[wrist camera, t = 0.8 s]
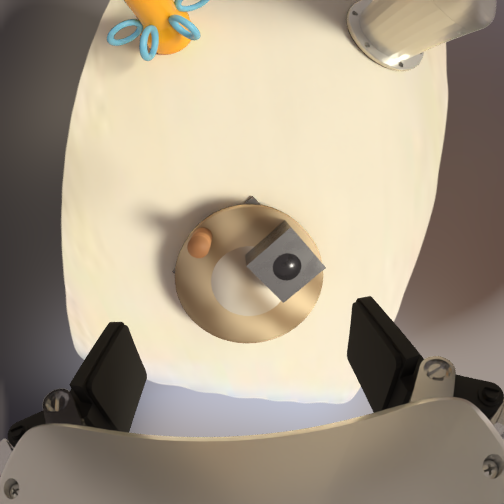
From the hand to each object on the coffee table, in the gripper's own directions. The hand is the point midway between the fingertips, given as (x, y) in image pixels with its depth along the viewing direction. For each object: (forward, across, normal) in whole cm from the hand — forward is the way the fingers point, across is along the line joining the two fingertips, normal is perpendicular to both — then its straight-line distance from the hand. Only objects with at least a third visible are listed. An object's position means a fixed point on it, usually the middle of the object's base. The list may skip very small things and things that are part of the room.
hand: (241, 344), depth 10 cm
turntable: (+24, 0, +7) cm, 25 cm away
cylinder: (+24, +6, -25) cm, 35 cm away
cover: (+21, -4, +4) cm, 22 cm away
